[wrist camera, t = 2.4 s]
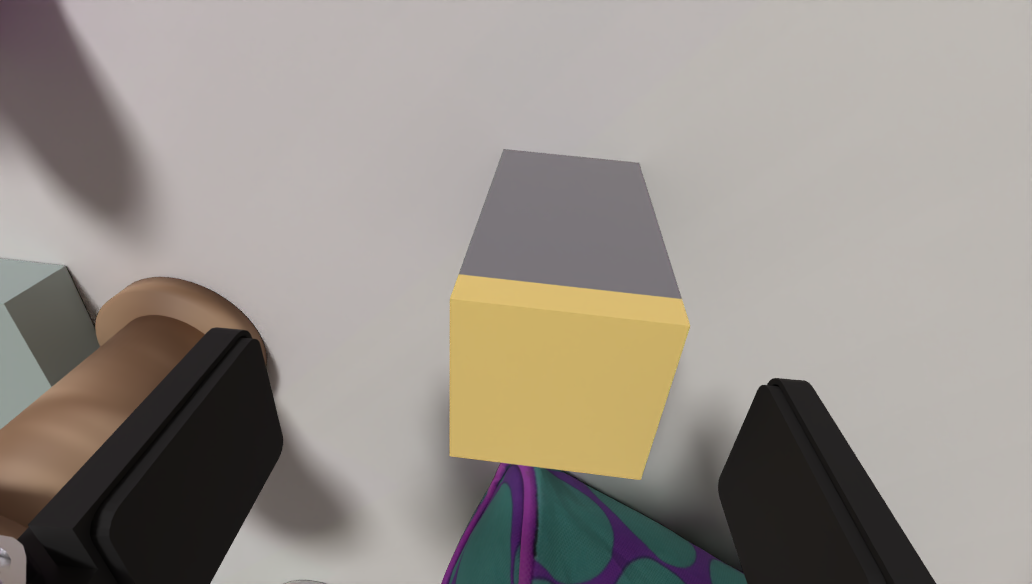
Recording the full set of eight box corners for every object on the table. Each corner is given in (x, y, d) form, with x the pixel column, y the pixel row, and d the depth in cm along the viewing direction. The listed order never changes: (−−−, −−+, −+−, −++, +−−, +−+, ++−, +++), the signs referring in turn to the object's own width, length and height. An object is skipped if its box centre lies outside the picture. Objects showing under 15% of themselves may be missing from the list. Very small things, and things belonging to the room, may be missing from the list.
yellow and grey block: (639, 163, 15) (689, 326, 9) (614, 278, 17) (640, 479, 11) (503, 149, 15) (449, 299, 9) (496, 265, 18) (449, 456, 11)
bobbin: (249, 286, 19) (-5, 547, 11) (278, 403, 22) (102, 673, 14) (91, 268, 19) (-280, 510, 11) (143, 387, 22) (-110, 643, 14)
